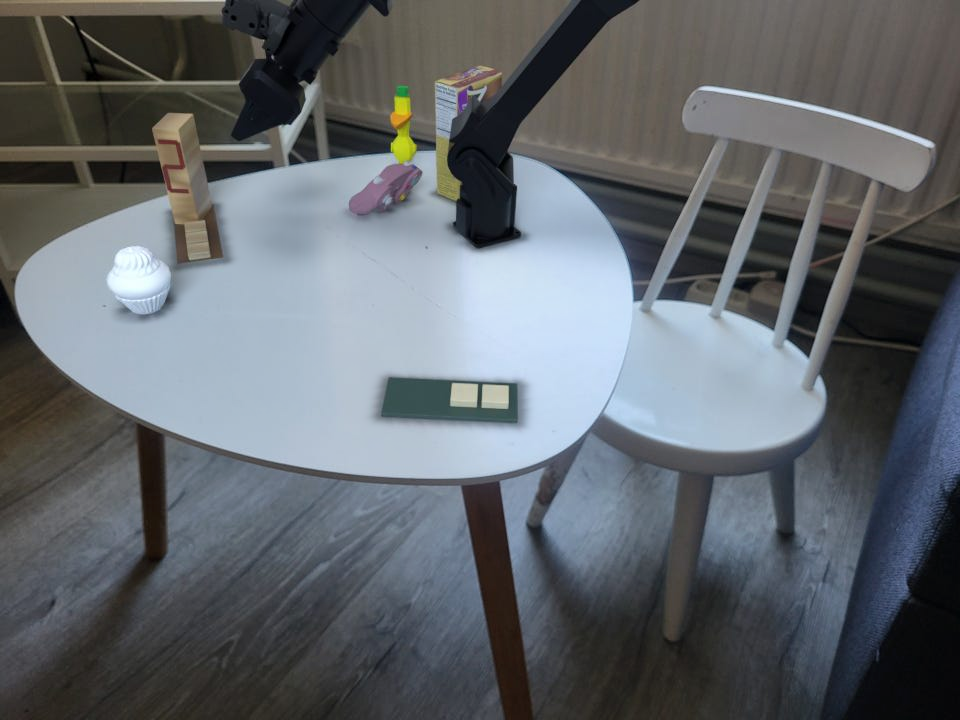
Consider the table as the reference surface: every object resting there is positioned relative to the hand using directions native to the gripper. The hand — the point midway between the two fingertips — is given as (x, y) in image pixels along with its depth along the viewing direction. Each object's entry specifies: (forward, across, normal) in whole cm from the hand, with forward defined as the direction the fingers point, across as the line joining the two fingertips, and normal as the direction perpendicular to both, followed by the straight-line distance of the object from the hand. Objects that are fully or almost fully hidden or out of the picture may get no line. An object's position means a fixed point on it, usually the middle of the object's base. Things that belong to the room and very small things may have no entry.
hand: (243, 120), depth 85 cm
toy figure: (-1, -14, +22) cm, 26 cm away
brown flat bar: (+14, +4, +3) cm, 15 cm away
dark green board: (-7, +34, +25) cm, 43 cm away
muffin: (+14, +19, +2) cm, 24 cm away
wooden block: (+15, 0, +2) cm, 15 cm away
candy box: (-7, -10, +28) cm, 31 cm away
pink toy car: (0, -5, +20) cm, 21 cm away
